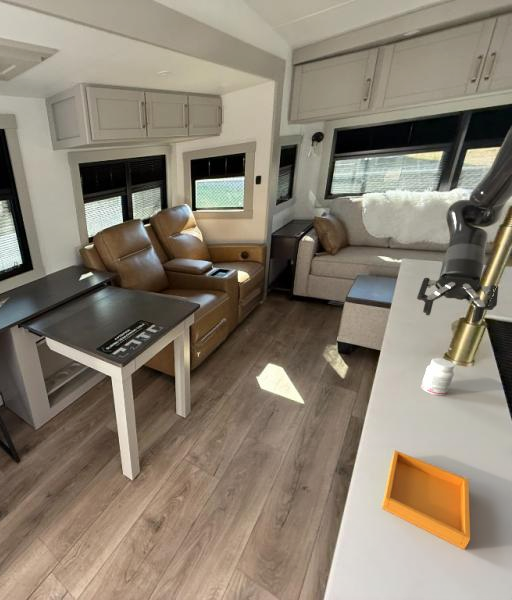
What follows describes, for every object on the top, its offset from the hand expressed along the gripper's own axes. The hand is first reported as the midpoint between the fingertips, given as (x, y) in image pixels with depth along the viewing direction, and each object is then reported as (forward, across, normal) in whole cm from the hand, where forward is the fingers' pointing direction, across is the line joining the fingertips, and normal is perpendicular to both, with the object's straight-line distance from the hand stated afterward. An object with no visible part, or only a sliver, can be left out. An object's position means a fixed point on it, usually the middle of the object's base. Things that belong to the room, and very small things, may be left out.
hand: (450, 318), depth 83 cm
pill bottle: (+19, 0, +3) cm, 20 cm away
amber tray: (+46, -1, -24) cm, 52 cm away
